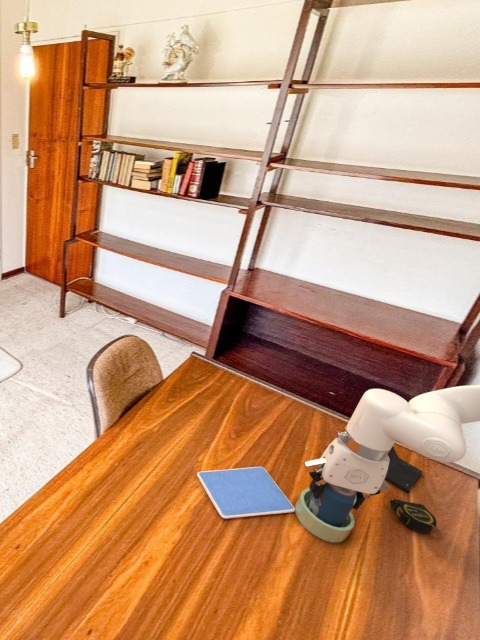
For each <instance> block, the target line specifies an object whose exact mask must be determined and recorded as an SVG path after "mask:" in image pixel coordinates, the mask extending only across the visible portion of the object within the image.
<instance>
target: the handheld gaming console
mask: <svg viewBox="0 0 480 640" xmlns="http://www.w3.org/2000/svg"><path fill="white" fill-rule="evenodd" d="M388 456H389V458H390V461H389V466H388V470H387V474H386V476H385V479H384V480H385V481H386V482H388V483H391V484H392V485H393V486H395V487H397V488H398V489H400V490H402V491H403V492H405V493H408V492H409V491H410V490H411V488H412V487H413V485H414V484H415V483H416V482H417V480H418V479H419V477H420V476H421V474H422V473H423V471H422V470H421V469H419V468H418V467H417V466H415V465H413V464H411V463H409V462H408V461H406V460H404V459H402V458H400V457H399V455H398V454H397V452H396V449H395V446H394V445H393V446H392V448H391V450H390V451H389V453H388Z"/></svg>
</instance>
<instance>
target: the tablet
mask: <svg viewBox="0 0 480 640" xmlns="http://www.w3.org/2000/svg"><path fill="white" fill-rule="evenodd" d="M196 476H197V479H198V480H199V482H200V483H201V486H202V487H203V489H204V491H205V493H206V494H207V496H208V498H209V499H210V501H211V503H212V505H213V506H214V508H215V510H216V511H217V513H218V514H219V516H220V518H222V519H223V520H227V519H235V518H236V519H237V518H244V517H245V518H246V517H255V516H265V515H278V514H287V513H289V514H290V513H294V512H295V505H293V504H292V502H291V501H290V500H289V499H288V497H287V496H286V495H285V494H284V492H283V491H282V489H281V488H280V487H279V485H278V484H277V482H275V480H274V478H273V477H272V476H271V475H270V474H269V472H268V471H267V470H266V468H264V467H263V466H250V467H240V468H239V467H238V468H228V469H227V468H226V469H217V470H216V469H214V470H205V471H198V472H197V473H196Z"/></svg>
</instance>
